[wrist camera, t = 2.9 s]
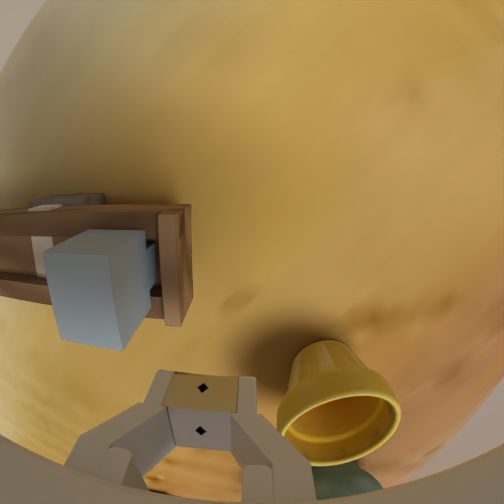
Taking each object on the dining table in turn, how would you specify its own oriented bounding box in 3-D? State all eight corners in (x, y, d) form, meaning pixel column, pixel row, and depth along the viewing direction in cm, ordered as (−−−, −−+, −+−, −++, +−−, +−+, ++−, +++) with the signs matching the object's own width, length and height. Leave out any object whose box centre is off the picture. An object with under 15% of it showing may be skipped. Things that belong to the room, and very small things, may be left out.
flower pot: (345, 492, 38) (355, 537, 28) (260, 490, 37) (261, 542, 27) (394, 443, 34) (416, 496, 23) (297, 440, 33) (306, 508, 22)
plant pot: (283, 408, 31) (290, 477, 21) (261, 339, 28) (263, 413, 18) (370, 384, 30) (398, 447, 20) (364, 311, 27) (405, 373, 18)
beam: (0, 200, 24) (-52, 215, 16) (201, 191, 24) (175, 205, 16) (9, 268, 26) (-37, 295, 18) (201, 283, 26) (181, 333, 18)
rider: (100, 224, 18) (42, 252, 12) (153, 224, 18) (107, 255, 12) (107, 292, 20) (61, 339, 13) (158, 296, 20) (122, 350, 13)
